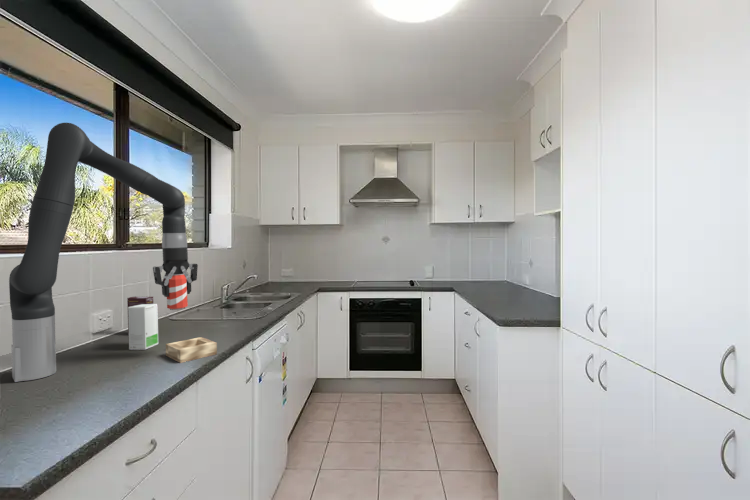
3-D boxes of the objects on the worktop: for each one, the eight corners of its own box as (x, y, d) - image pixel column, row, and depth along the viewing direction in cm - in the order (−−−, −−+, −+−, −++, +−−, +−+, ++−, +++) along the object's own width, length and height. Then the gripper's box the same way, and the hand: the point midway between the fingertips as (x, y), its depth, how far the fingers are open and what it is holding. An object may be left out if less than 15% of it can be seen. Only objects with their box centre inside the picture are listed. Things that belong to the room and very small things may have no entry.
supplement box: (154, 333, 158) (154, 296, 158) (146, 336, 153) (145, 297, 153) (135, 332, 159) (135, 296, 159) (127, 335, 154) (126, 297, 154)
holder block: (180, 362, 119) (180, 350, 119) (165, 355, 126) (165, 344, 126) (216, 354, 128) (216, 342, 128) (201, 347, 136) (200, 337, 136)
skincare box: (145, 350, 133) (144, 307, 133) (127, 350, 133) (126, 307, 133) (159, 343, 141) (158, 303, 141) (142, 343, 142) (141, 303, 141)
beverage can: (162, 310, 124) (161, 275, 124) (177, 306, 131) (175, 273, 130) (178, 310, 123) (176, 275, 123) (191, 307, 129) (190, 273, 129)
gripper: (156, 247, 118) (159, 299, 119) (201, 245, 129) (203, 293, 130) (147, 247, 123) (149, 297, 124) (191, 245, 134) (193, 291, 135)
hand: (177, 295), depth 127 cm, fingers closed on beverage can, 6 cm apart
